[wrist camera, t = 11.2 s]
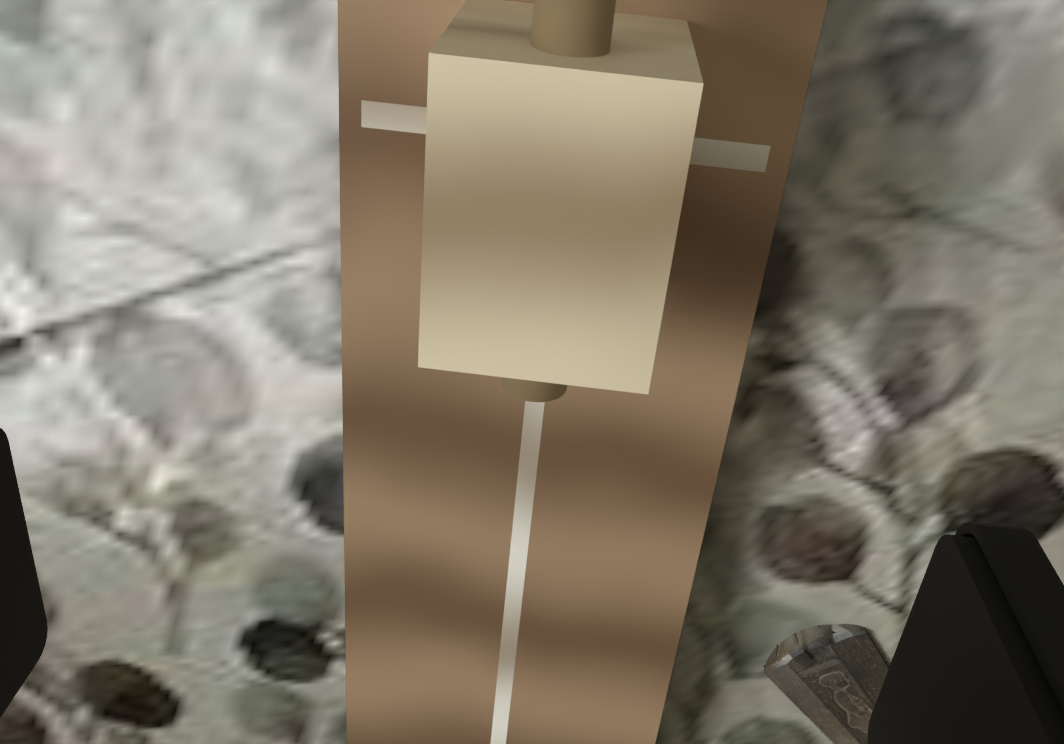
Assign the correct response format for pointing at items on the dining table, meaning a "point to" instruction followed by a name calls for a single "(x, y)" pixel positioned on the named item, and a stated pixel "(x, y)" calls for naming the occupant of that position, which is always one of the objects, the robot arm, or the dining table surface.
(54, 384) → the dining table surface
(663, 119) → the cream knobbed box
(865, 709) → the block
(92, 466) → the dining table surface
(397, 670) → the board
